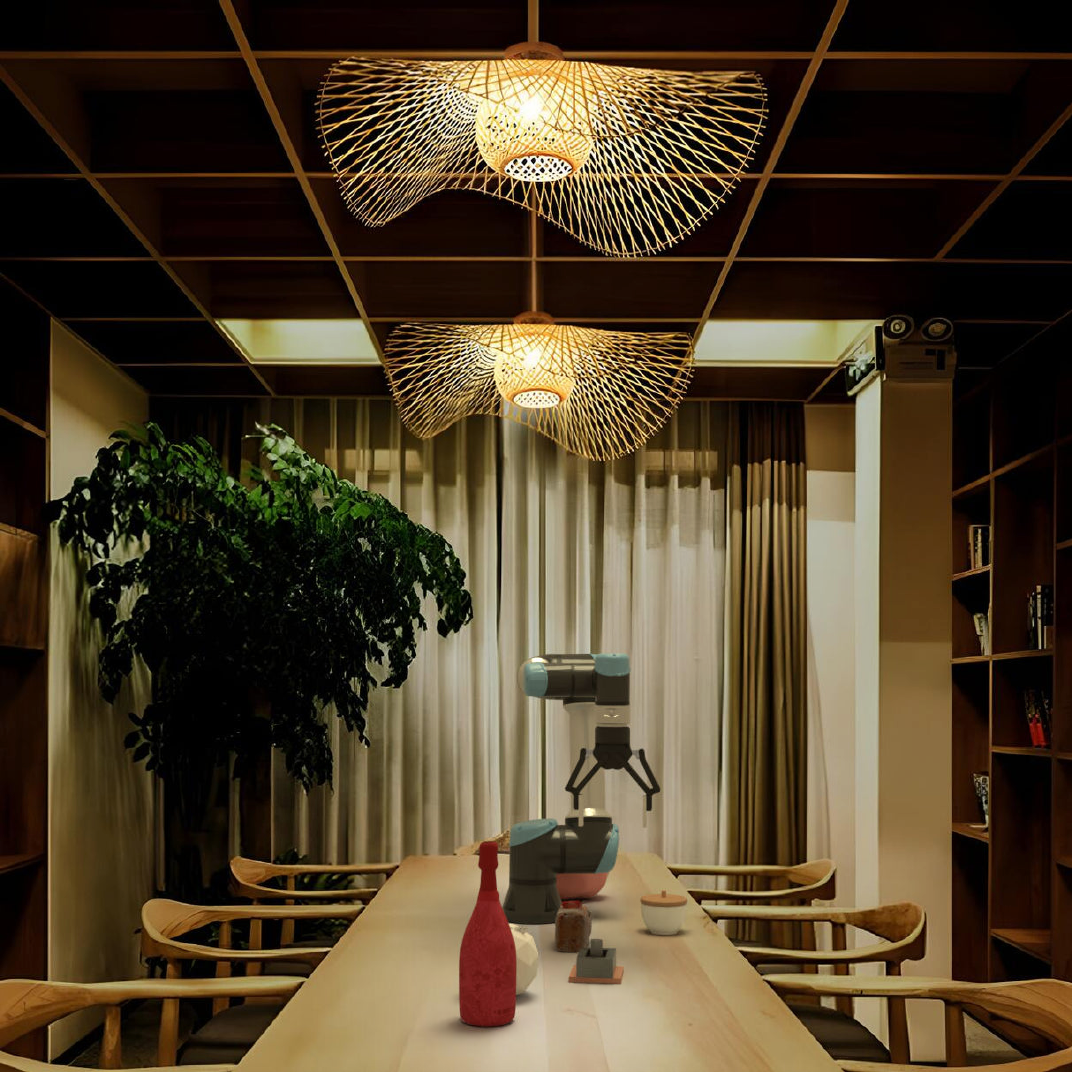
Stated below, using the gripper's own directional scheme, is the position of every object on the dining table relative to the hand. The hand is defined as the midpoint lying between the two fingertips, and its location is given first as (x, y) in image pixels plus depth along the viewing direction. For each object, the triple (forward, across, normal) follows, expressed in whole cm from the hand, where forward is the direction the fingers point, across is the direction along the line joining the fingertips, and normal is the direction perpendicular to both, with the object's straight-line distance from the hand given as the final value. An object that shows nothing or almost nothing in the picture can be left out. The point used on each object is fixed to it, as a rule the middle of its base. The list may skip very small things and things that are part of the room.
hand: (612, 826), depth 266 cm
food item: (+27, -9, +9) cm, 30 cm away
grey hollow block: (+26, -2, -19) cm, 32 cm away
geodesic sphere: (+27, -18, -36) cm, 48 cm away
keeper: (+27, -2, -19) cm, 33 cm away
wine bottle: (+27, -18, -53) cm, 62 cm away
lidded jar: (+27, +10, +26) cm, 39 cm away
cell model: (+27, -15, +66) cm, 73 cm away
